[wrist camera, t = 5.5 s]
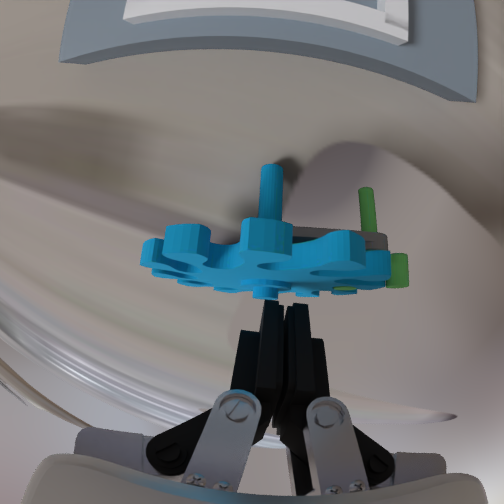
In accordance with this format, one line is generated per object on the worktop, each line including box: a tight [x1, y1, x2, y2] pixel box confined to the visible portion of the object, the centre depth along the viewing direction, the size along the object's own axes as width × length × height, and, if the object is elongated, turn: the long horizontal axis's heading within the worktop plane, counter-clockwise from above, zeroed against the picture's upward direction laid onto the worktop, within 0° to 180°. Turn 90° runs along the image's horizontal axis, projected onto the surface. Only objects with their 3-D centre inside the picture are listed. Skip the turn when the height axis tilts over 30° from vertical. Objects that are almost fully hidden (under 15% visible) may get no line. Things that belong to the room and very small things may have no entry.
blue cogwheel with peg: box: [140, 164, 409, 300], centre depth 12 cm, size 11×6×10 cm
